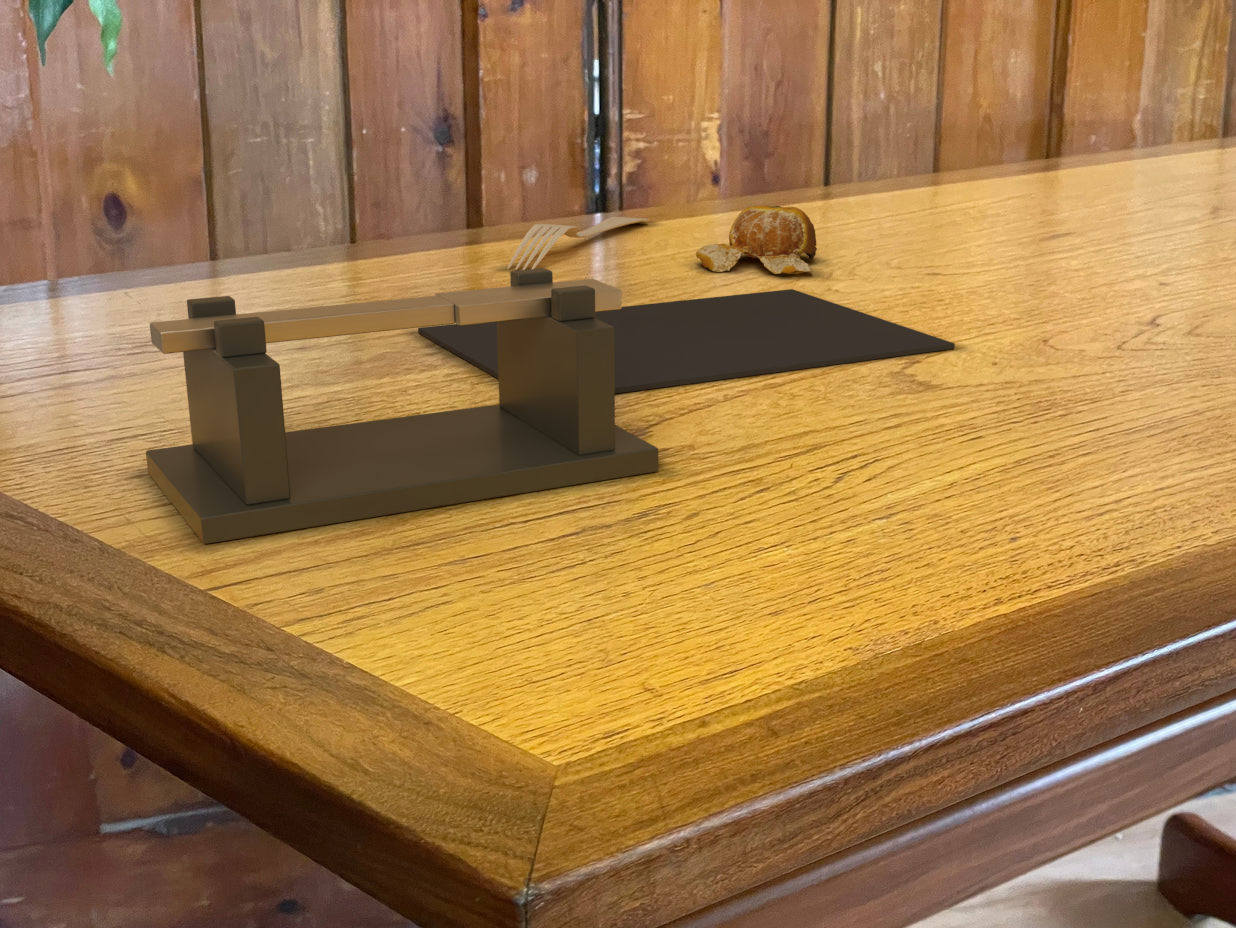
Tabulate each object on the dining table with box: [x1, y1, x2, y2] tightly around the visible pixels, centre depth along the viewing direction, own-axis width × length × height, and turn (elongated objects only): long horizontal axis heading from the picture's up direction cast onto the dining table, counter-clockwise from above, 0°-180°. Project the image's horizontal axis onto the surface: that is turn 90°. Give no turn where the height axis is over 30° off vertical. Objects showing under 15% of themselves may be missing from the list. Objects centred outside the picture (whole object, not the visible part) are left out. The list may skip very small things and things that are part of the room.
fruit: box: [695, 205, 818, 275], centre depth 107 cm, size 8×8×4 cm
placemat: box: [417, 288, 956, 395], centre depth 86 cm, size 24×16×1 cm, turn 120°
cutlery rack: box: [145, 267, 659, 545], centre depth 63 cm, size 18×9×7 cm, turn 120°
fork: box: [506, 215, 650, 271], centre depth 113 cm, size 3×21×3 cm, turn 162°
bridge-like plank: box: [149, 278, 623, 355], centre depth 62 cm, size 18×3×1 cm, turn 120°
